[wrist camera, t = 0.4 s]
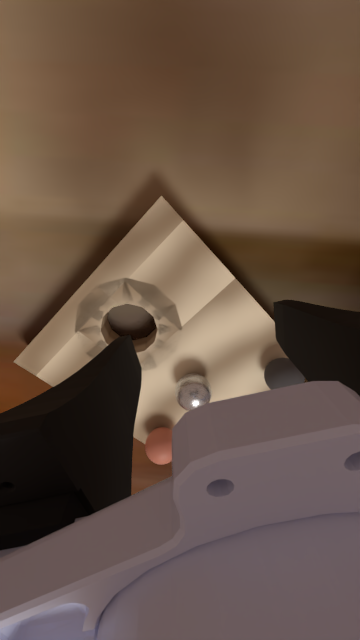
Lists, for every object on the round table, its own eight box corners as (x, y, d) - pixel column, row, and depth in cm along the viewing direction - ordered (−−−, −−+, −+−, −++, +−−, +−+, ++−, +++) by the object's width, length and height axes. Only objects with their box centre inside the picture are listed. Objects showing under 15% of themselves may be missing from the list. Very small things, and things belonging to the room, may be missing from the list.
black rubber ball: (299, 364, 22) (319, 387, 19) (271, 385, 23) (287, 410, 20) (280, 344, 21) (298, 365, 18) (251, 366, 22) (265, 389, 19)
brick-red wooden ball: (183, 430, 25) (186, 459, 22) (162, 446, 26) (162, 476, 23) (161, 414, 24) (161, 443, 21) (139, 432, 25) (136, 461, 22)
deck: (301, 353, 25) (315, 367, 23) (177, 445, 29) (178, 465, 27) (161, 197, 18) (161, 195, 16) (28, 346, 23) (13, 361, 20)
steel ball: (215, 379, 22) (223, 404, 20) (190, 399, 23) (194, 426, 20) (192, 359, 21) (196, 383, 18) (166, 381, 22) (167, 406, 19)
